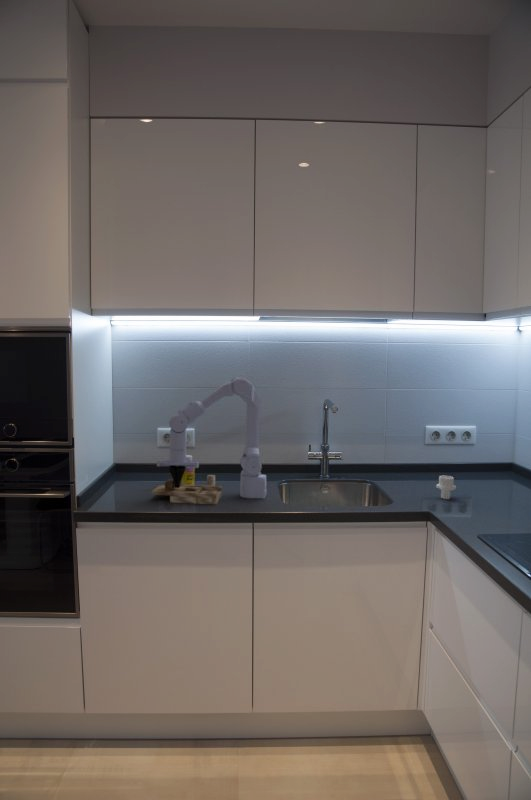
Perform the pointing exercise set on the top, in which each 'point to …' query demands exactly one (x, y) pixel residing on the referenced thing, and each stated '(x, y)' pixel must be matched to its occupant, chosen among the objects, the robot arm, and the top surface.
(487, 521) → the top surface
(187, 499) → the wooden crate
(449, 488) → the pipe fitting
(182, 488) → the lid
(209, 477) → the pin
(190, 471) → the supplement bottle
